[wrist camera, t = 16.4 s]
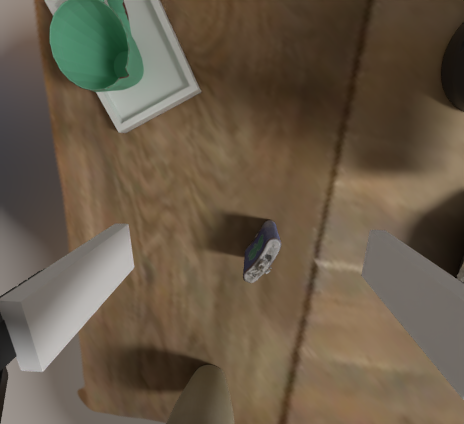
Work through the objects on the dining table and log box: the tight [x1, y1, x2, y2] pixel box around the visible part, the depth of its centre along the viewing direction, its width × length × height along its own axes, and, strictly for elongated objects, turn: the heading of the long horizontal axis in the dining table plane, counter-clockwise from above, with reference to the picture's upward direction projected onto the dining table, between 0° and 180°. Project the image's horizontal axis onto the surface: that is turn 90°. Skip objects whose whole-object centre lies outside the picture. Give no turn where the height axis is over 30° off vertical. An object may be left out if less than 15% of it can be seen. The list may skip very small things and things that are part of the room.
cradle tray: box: [44, 0, 201, 133], centre depth 37 cm, size 15×20×2 cm
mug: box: [50, 0, 144, 92], centre depth 32 cm, size 15×10×10 cm
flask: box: [243, 220, 281, 283], centre depth 41 cm, size 9×3×11 cm, turn 149°
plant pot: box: [166, 365, 235, 424], centre depth 50 cm, size 15×15×16 cm
